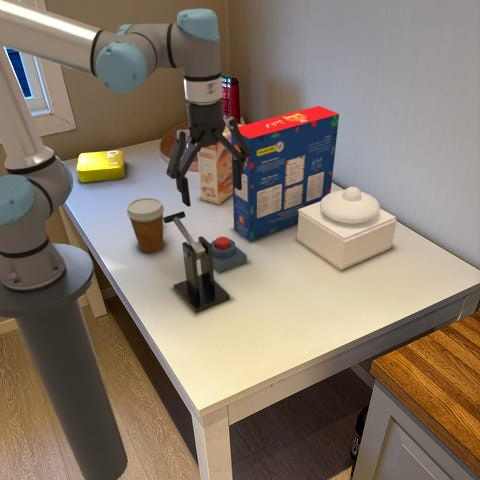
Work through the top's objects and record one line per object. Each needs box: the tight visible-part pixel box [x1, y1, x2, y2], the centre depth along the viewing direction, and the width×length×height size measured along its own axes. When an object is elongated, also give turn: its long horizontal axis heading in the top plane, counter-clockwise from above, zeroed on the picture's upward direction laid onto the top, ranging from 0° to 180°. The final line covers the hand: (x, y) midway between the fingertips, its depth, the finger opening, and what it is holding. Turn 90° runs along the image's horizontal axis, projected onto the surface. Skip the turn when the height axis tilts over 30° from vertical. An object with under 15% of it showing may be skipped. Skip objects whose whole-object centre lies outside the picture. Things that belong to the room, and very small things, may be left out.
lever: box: [163, 210, 205, 261], centre depth 108 cm, size 13×5×2 cm, turn 32°
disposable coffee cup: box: [126, 197, 165, 253], centre depth 126 cm, size 10×10×12 cm
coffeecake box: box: [197, 123, 244, 205], centre depth 147 cm, size 15×7×20 cm, turn 148°
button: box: [214, 236, 230, 250], centre depth 122 cm, size 4×4×2 cm
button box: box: [209, 238, 248, 273], centre depth 124 cm, size 10×8×4 cm
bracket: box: [173, 235, 231, 314], centre depth 109 cm, size 11×9×14 cm
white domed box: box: [296, 186, 398, 271], centre depth 124 cm, size 18×18×16 cm
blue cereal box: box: [231, 105, 340, 243], centre depth 130 cm, size 28×8×28 cm, turn 124°
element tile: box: [76, 149, 126, 183], centre depth 165 cm, size 15×15×5 cm
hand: (212, 196), depth 112 cm, fingers open, 13 cm apart
